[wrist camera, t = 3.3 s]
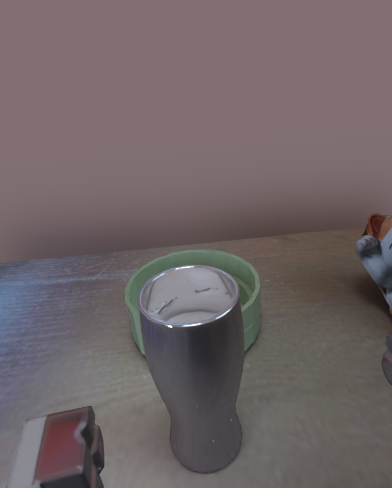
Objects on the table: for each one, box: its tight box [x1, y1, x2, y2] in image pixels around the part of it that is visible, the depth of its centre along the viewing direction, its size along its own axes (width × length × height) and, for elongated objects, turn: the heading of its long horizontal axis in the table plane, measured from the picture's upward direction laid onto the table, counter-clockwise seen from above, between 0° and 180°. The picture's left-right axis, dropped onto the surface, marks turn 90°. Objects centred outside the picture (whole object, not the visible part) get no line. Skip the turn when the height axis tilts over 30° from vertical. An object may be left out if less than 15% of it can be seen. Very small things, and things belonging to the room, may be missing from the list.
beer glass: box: [137, 265, 245, 473], centre depth 26 cm, size 7×7×15 cm
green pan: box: [125, 249, 260, 355], centre depth 40 cm, size 15×15×6 cm
